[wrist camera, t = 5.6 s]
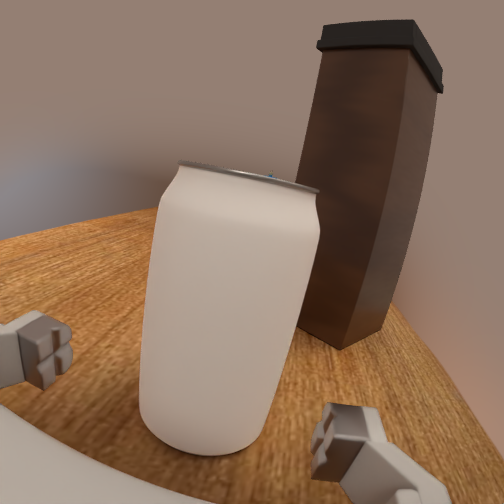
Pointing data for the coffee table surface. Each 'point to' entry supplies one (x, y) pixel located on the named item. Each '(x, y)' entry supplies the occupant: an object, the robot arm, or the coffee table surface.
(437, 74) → the black socket pad
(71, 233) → the coffee table surface
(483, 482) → the coffee table surface
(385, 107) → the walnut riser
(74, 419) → the coffee table surface
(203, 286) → the can
